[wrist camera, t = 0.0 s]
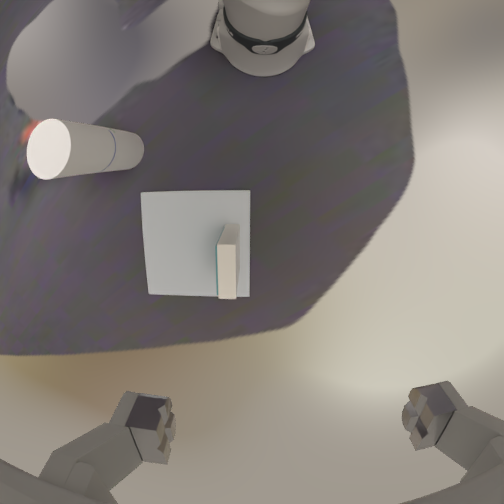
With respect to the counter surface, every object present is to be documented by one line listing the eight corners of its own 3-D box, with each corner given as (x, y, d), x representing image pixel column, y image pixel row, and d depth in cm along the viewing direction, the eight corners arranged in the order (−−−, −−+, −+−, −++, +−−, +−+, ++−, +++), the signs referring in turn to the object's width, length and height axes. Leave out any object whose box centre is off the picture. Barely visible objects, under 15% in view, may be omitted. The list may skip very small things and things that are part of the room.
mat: (142, 192, 54) (140, 192, 54) (250, 190, 54) (250, 190, 54) (150, 292, 60) (148, 294, 59) (249, 295, 60) (249, 296, 59)
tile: (224, 224, 55) (214, 244, 42) (240, 224, 55) (235, 244, 42) (224, 266, 57) (216, 298, 44) (240, 267, 57) (236, 299, 44)
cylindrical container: (122, 177, 53) (42, 191, 29) (104, 148, 52) (19, 147, 28) (151, 154, 52) (80, 152, 28) (131, 124, 51) (54, 106, 27)
